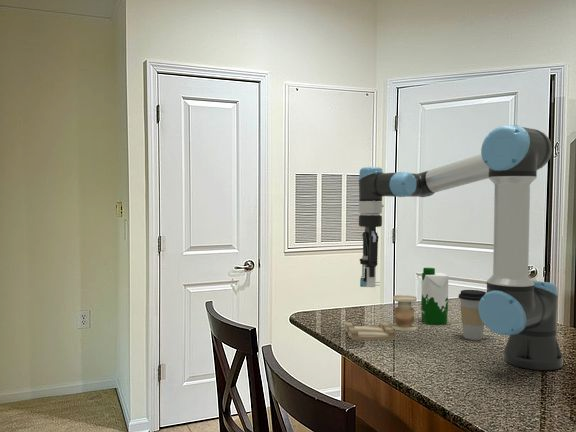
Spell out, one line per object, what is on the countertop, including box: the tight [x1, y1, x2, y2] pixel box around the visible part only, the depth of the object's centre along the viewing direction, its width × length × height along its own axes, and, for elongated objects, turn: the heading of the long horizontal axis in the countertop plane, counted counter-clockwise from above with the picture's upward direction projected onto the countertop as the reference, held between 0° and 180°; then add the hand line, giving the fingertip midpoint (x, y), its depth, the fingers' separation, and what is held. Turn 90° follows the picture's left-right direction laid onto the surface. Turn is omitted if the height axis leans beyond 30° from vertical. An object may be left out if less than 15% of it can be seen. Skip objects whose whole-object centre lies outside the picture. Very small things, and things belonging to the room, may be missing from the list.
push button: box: [359, 255, 381, 288], centre depth 181 cm, size 7×5×10 cm
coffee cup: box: [457, 289, 487, 341], centre depth 179 cm, size 9×9×15 cm
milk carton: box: [420, 267, 449, 326], centre depth 198 cm, size 9×9×20 cm
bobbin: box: [390, 294, 418, 332], centre depth 190 cm, size 9×9×11 cm
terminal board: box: [344, 321, 397, 341], centre depth 182 cm, size 14×14×3 cm
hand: (369, 285), depth 181 cm, fingers closed on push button, 3 cm apart
